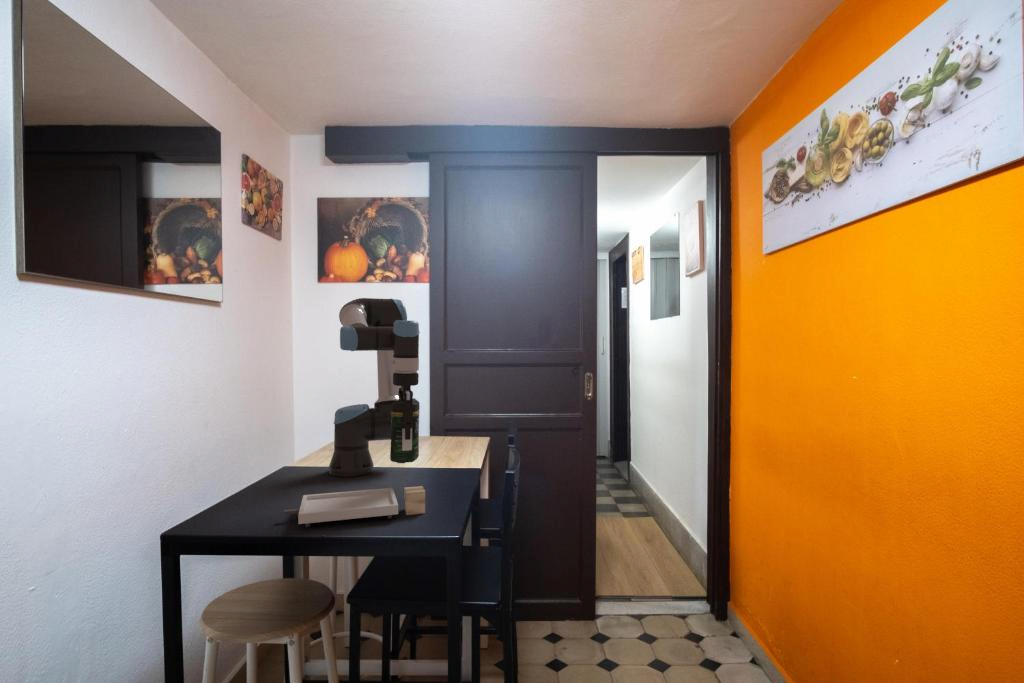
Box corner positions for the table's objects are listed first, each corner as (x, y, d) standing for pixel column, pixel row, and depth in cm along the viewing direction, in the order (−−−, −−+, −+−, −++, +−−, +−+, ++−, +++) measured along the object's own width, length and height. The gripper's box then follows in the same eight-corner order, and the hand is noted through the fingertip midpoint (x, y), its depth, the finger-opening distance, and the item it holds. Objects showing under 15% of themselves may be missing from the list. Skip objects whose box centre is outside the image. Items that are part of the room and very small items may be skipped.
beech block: (404, 509, 140) (404, 487, 140) (422, 507, 142) (422, 486, 142) (406, 515, 135) (406, 492, 135) (425, 513, 137) (425, 491, 137)
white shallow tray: (287, 511, 138) (287, 496, 138) (392, 501, 146) (392, 487, 146) (280, 532, 123) (280, 516, 123) (398, 520, 131) (398, 504, 131)
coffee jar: (414, 464, 147) (414, 401, 147) (387, 463, 147) (387, 400, 147) (421, 456, 157) (422, 396, 156) (396, 455, 157) (397, 396, 157)
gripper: (389, 369, 161) (389, 439, 161) (396, 375, 140) (395, 456, 140) (413, 368, 163) (413, 437, 164) (423, 375, 142) (423, 454, 143)
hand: (405, 446), depth 152 cm, fingers closed on coffee jar, 9 cm apart
